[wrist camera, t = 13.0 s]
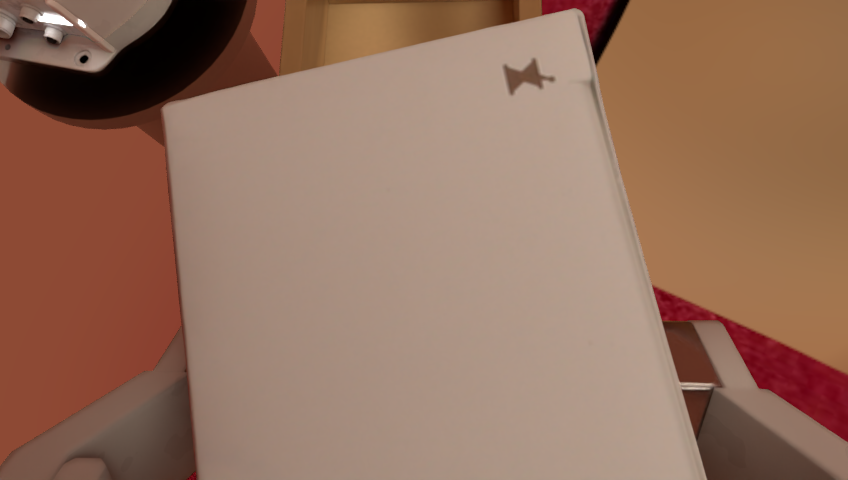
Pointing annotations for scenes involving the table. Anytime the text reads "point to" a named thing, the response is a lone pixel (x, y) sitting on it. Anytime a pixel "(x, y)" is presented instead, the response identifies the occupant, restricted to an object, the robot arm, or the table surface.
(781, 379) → the table surface
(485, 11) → the beige open tray
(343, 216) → the small box
